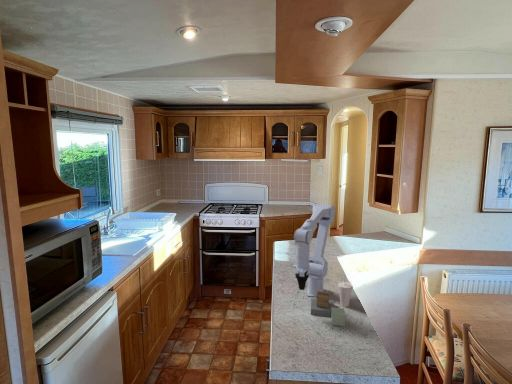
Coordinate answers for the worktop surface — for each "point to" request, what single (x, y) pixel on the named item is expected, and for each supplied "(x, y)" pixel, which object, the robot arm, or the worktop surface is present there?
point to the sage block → (338, 316)
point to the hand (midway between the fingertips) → (302, 285)
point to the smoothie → (345, 292)
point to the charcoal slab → (321, 308)
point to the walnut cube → (322, 299)
